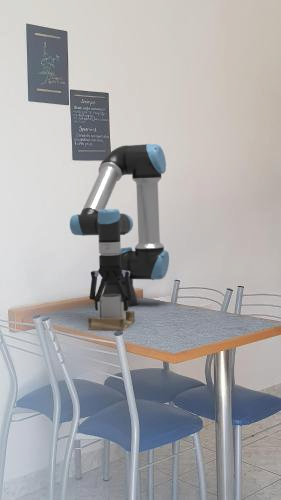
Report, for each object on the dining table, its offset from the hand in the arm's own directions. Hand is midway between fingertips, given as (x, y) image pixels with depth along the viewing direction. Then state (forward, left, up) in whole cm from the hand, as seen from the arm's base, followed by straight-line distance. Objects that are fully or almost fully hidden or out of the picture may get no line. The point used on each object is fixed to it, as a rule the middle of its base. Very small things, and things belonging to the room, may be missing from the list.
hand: (112, 319), depth 224 cm
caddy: (0, 0, -2) cm, 2 cm away
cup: (0, -1, 0) cm, 1 cm away
